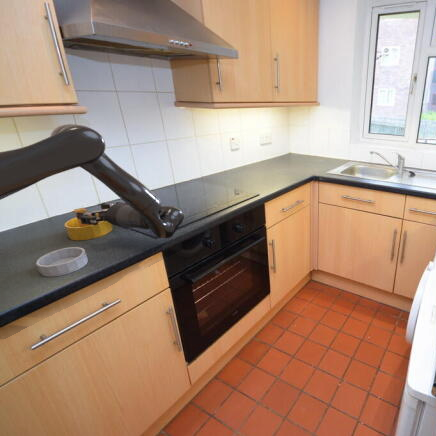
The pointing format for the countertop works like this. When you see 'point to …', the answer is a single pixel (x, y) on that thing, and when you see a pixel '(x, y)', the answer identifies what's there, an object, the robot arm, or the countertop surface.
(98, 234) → the yellow bowl
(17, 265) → the countertop surface
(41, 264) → the gray bowl
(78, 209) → the supplement box
